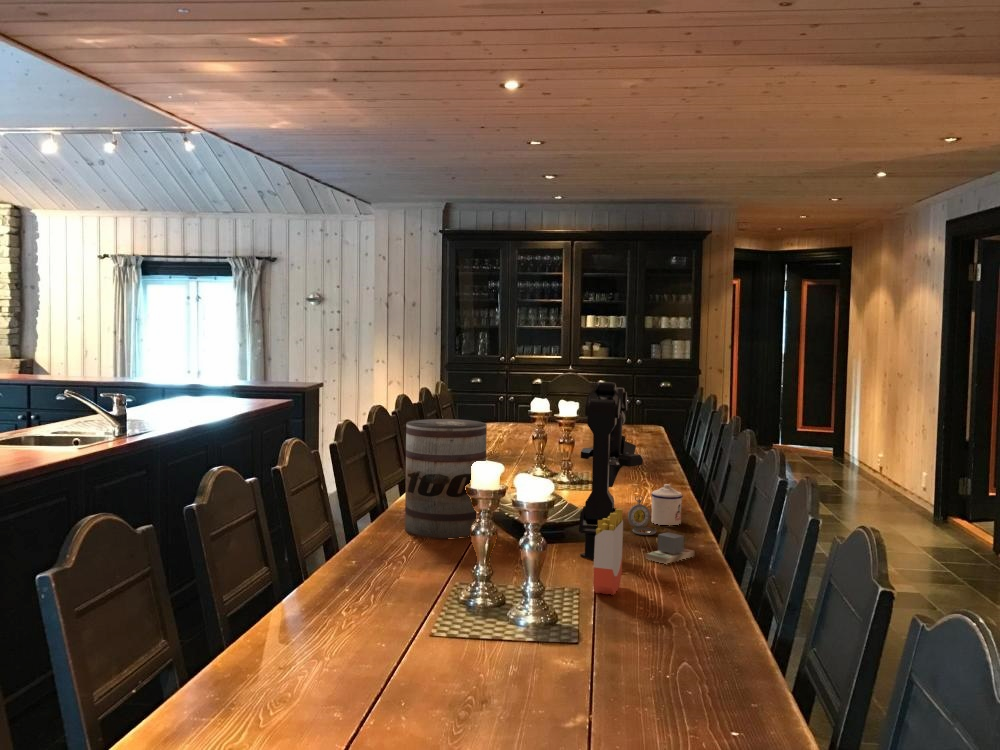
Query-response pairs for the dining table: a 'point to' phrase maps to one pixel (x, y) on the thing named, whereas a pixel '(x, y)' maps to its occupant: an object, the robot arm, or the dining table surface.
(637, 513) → the pocket watch
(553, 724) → the dining table surface
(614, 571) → the french fries container
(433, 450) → the barrel
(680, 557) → the cream flat rectangular block
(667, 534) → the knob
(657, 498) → the teacup with lid
